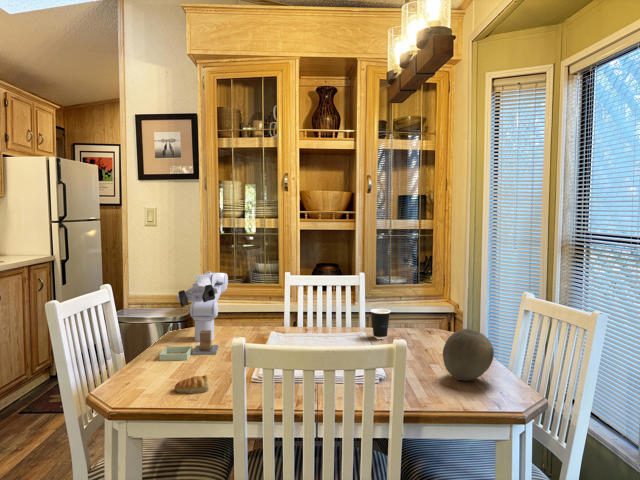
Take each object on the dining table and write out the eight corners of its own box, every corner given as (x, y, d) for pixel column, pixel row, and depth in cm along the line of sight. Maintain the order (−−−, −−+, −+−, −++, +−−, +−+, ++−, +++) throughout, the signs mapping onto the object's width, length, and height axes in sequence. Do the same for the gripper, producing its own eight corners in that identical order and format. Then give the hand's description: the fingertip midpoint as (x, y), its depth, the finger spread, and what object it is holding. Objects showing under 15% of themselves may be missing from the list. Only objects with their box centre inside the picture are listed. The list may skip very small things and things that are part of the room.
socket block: (196, 350, 167) (196, 345, 167) (218, 350, 167) (218, 345, 167) (192, 357, 159) (192, 352, 159) (215, 357, 159) (215, 351, 159)
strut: (201, 349, 165) (201, 330, 164) (211, 349, 165) (211, 330, 164) (200, 352, 161) (199, 332, 161) (209, 352, 161) (209, 332, 161)
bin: (166, 355, 161) (166, 346, 161) (192, 354, 162) (192, 346, 162) (159, 363, 152) (159, 354, 152) (187, 362, 153) (187, 353, 153)
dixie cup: (387, 341, 181) (388, 313, 180) (368, 339, 183) (368, 311, 183) (391, 336, 188) (392, 309, 187) (372, 334, 191) (373, 308, 190)
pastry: (174, 396, 126) (174, 382, 125) (174, 388, 132) (174, 374, 132) (210, 392, 129) (210, 379, 128) (208, 384, 135) (207, 371, 135)
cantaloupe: (459, 390, 131) (460, 337, 130) (434, 373, 144) (434, 325, 143) (502, 385, 134) (503, 334, 134) (473, 369, 148) (474, 323, 147)
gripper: (178, 283, 170) (168, 295, 157) (217, 275, 170) (210, 286, 157) (183, 300, 172) (174, 314, 158) (221, 293, 172) (215, 305, 159)
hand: (192, 301), depth 158 cm, fingers open, 7 cm apart
